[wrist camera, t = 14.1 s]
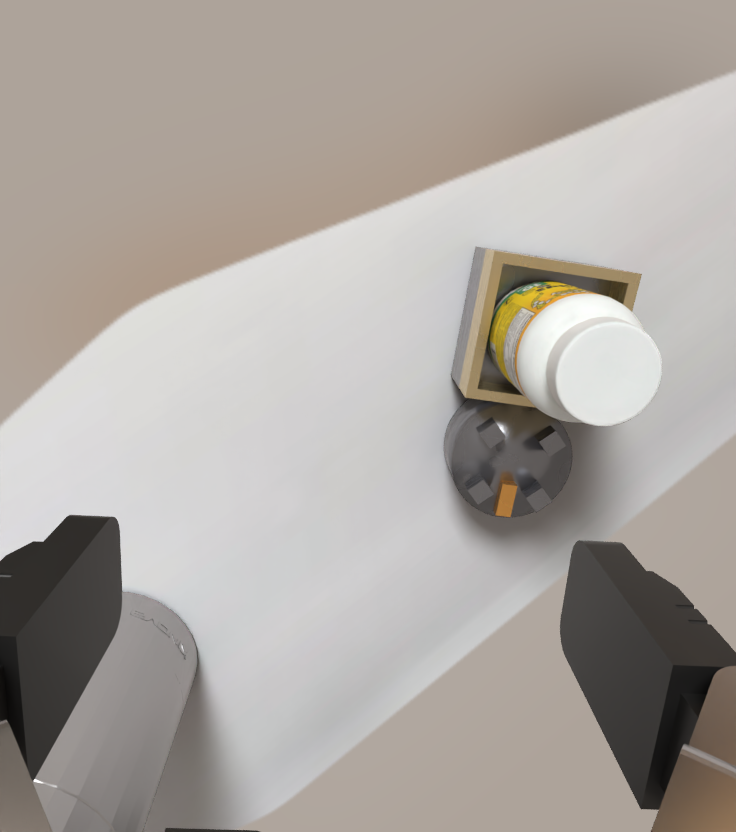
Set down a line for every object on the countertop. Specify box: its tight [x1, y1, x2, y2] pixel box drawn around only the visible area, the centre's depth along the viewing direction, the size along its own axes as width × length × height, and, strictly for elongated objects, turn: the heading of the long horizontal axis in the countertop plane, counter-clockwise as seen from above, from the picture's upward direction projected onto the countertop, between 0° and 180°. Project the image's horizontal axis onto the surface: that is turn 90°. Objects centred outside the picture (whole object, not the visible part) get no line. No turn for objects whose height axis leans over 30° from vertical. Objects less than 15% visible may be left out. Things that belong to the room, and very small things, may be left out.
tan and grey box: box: [444, 247, 642, 517], centre depth 35 cm, size 14×7×5 cm, turn 171°
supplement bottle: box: [487, 280, 662, 427], centre depth 30 cm, size 5×5×10 cm
